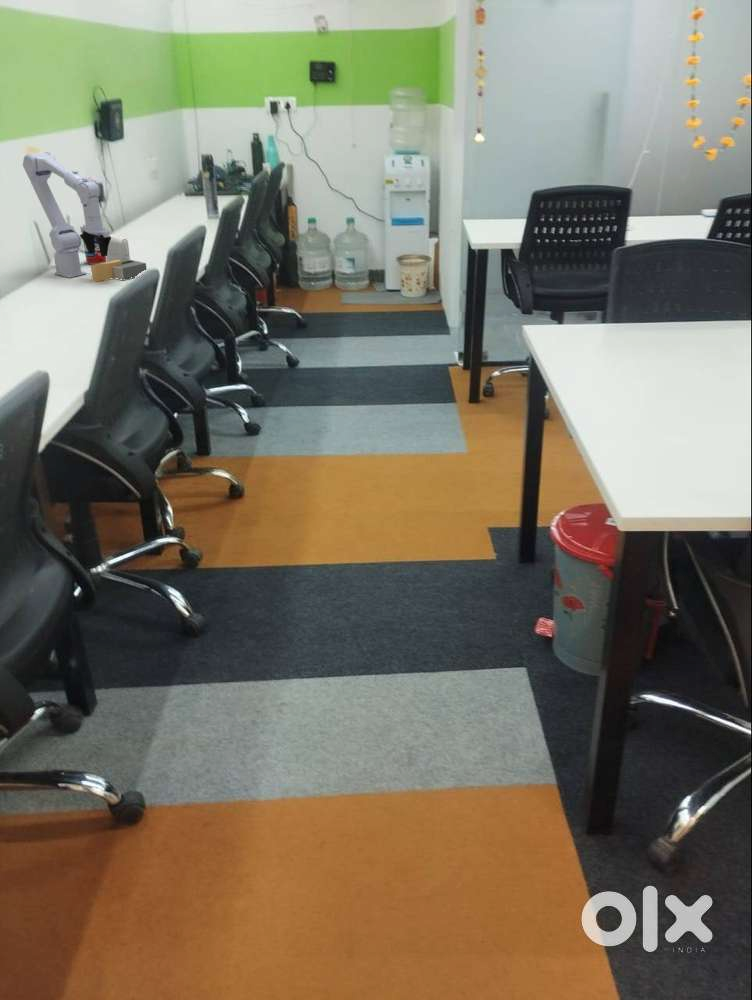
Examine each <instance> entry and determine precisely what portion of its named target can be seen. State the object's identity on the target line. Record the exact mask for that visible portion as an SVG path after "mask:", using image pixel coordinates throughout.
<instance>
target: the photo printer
mask: <svg viewBox="0 0 752 1000" xmlns="http://www.w3.org/2000/svg"><path fill="white" fill-rule="evenodd" d="M109 236H111V240H110V242H109V246H108V253H107V256H106V262H108V261H113V260H118V259H123V258H125V259H129V260H131V256H130V249H129V248H130V247H129V241H128V240H127V238H125V237H123V236H121V235H118V234H109Z"/></svg>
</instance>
